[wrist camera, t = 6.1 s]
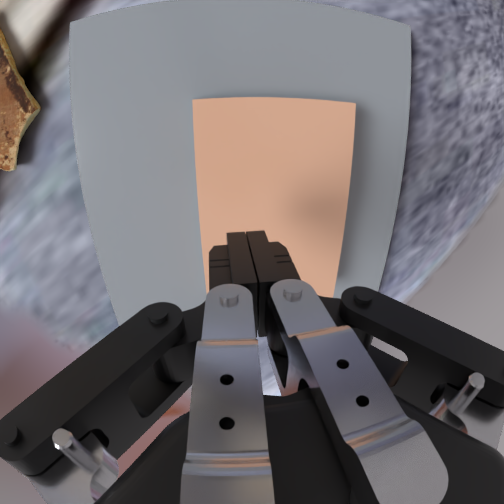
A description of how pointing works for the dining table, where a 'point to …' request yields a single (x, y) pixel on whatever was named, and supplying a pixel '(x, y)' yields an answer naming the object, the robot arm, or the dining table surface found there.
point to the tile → (276, 177)
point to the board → (222, 86)
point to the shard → (13, 108)
